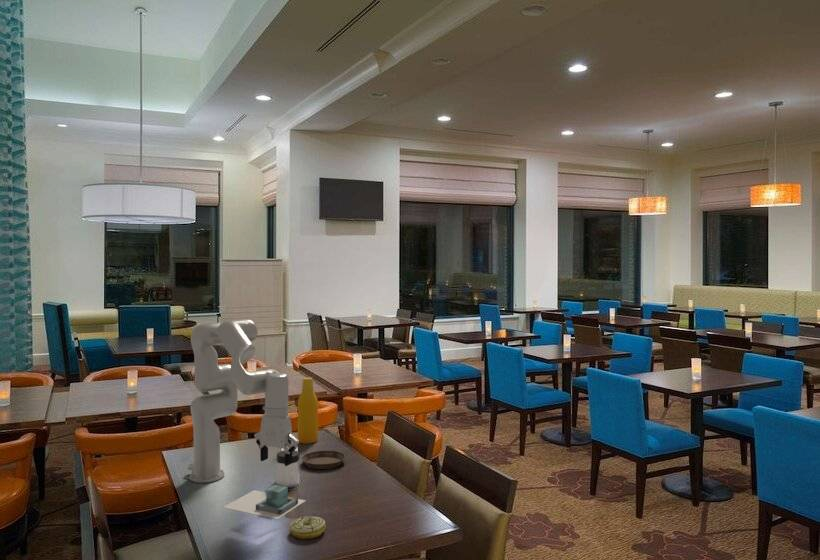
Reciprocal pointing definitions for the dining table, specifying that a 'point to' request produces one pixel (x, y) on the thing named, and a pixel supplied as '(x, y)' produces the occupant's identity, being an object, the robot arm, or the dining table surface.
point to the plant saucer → (323, 459)
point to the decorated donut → (307, 527)
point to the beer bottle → (307, 413)
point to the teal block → (277, 496)
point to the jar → (287, 469)
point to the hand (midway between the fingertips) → (276, 462)
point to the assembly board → (262, 505)
